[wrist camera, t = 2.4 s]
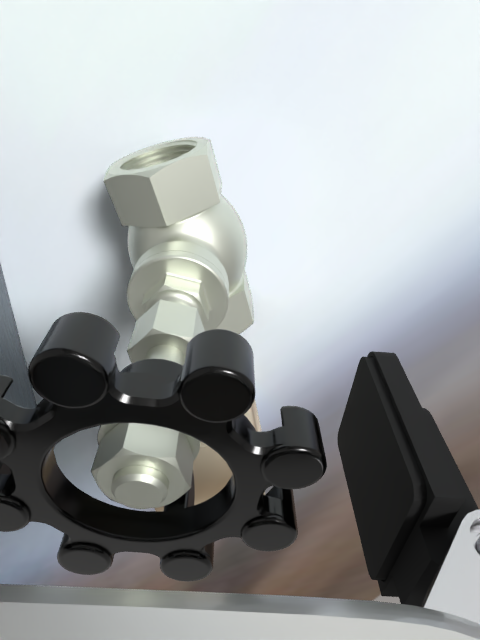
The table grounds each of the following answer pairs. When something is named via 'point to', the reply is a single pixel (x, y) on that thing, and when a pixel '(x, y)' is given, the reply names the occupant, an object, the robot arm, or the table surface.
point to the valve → (159, 391)
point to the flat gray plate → (13, 354)
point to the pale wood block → (214, 466)
